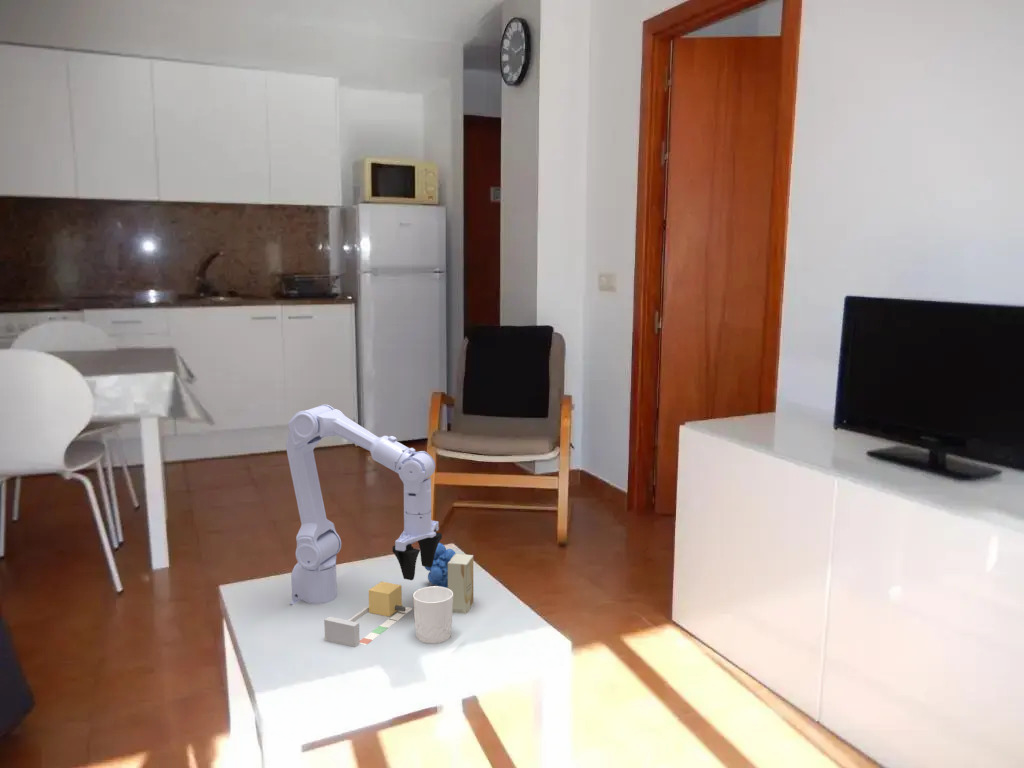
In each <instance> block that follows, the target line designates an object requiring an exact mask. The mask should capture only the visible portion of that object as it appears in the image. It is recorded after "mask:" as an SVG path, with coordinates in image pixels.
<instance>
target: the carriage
mask: <svg viewBox="0 0 1024 768" xmlns="http://www.w3.org/2000/svg"><path fill="white" fill-rule="evenodd" d="M402 591H403V590H402V584H397V583H392V582H387V581H380V582H379V583H377V584H375V585H374V586H373V587H371V588H369V589H368V606H369V611H368V613H370V614H374V615H379V616H384V617H389V618H391V617H392V616H393V614H394V615H395V614H396V613H397V612H399V611H403V612H404V611H406V609H405V607H406V606H403V604H402V602H403V600H402V597H403V596H402V593H403V592H402Z"/></svg>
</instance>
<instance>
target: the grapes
mask: <svg viewBox="0 0 1024 768" xmlns="http://www.w3.org/2000/svg"><path fill="white" fill-rule="evenodd" d="M455 554H457V553H456V551H455V550H453V549H451V548H446V546H445V545H444V544H443V543H441V542H439V544H438V546H437V549H436V552H435V556H434V560H433V564H432V567H425V566H423V568H424V569H425V570H426V571H428V574H427V580H428V582H429V583H430V584H431V585H434V586H439V587H445V588H448V562H449V561H450V560H451V558H452V557H453V556H454V555H455Z"/></svg>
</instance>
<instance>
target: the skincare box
mask: <svg viewBox="0 0 1024 768" xmlns="http://www.w3.org/2000/svg"><path fill="white" fill-rule="evenodd" d="M448 589H450V590H451V591H452V592H453V609H452V614H453V613H454V614H462V615H463V614H465V615H467V614H468V613H469V611H470V609H471V607H472V606H473V604H474V603H475V602H474V554H461V553H456V554H455V555H454V556H453V557H452V558H451V560H450V561H449V562H448Z"/></svg>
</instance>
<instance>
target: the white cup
mask: <svg viewBox="0 0 1024 768" xmlns="http://www.w3.org/2000/svg"><path fill="white" fill-rule="evenodd" d="M412 599H413V602H412V603H413V614H414V615H413V616H414V617H413V618H414V628H415V637H416V639H417V640H418V641H419V642H422V643H425V644H439V643H443V642H446V641H447V640H448V639H450V637H451V630H452V625H453V613H452V609H453V592H452V591H451V590H450V589H448V588H445V587H439V586H437V585H434V586H433V585H432V586H425V587H422V588H419V589H416V591H414V592H413V594H412Z"/></svg>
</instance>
